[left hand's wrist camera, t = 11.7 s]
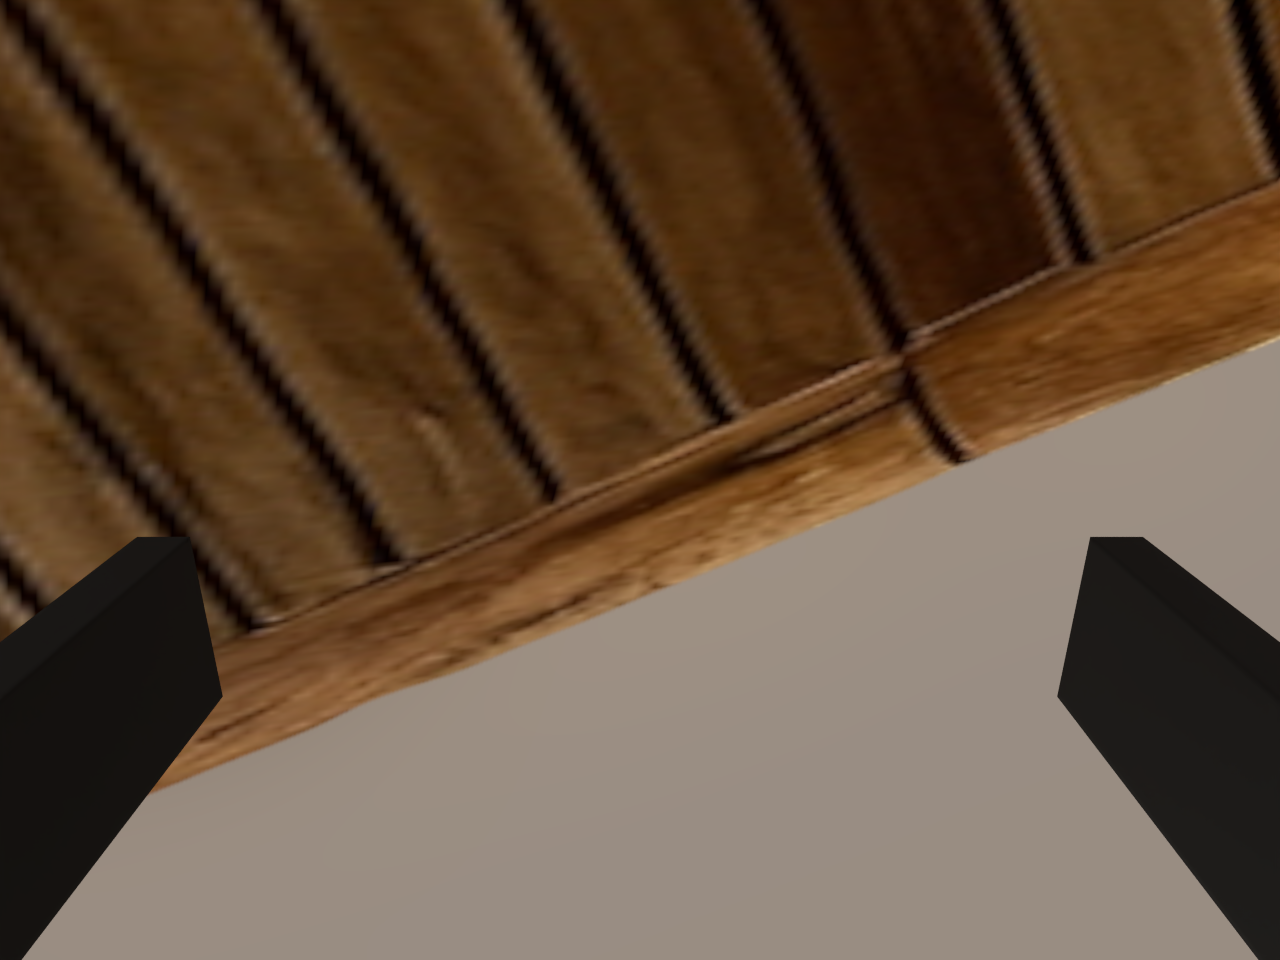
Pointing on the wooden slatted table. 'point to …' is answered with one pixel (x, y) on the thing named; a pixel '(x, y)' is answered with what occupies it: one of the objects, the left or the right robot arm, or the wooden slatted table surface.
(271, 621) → the wooden slatted table surface
